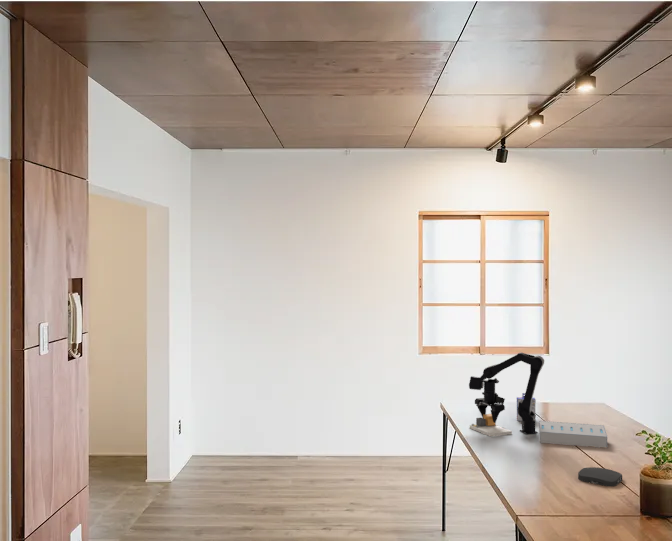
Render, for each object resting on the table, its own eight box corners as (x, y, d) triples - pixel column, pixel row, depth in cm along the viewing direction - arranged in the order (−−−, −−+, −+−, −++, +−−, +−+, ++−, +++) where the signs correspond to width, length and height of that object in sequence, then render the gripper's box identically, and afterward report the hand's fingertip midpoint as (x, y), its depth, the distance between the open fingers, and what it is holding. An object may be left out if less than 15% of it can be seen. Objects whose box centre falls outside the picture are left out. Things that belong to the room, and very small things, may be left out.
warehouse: (539, 443, 305) (539, 427, 305) (539, 435, 319) (539, 420, 319) (607, 448, 296) (607, 432, 296) (603, 440, 310) (603, 425, 310)
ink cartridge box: (534, 419, 352) (534, 393, 352) (536, 421, 347) (536, 395, 347) (516, 418, 354) (516, 392, 354) (517, 420, 348) (517, 394, 348)
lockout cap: (495, 425, 332) (495, 415, 332) (488, 426, 330) (488, 416, 330) (490, 423, 336) (490, 413, 336) (483, 424, 334) (483, 414, 334)
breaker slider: (485, 425, 330) (485, 419, 330) (480, 426, 328) (480, 419, 328) (481, 424, 333) (481, 417, 333) (476, 424, 332) (476, 418, 332)
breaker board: (512, 434, 320) (512, 429, 320) (490, 436, 315) (490, 432, 315) (490, 425, 337) (490, 421, 337) (469, 427, 332) (469, 423, 332)
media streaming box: (587, 471, 262) (587, 464, 262) (624, 479, 253) (624, 471, 253) (575, 480, 251) (575, 473, 251) (614, 488, 242) (614, 481, 242)
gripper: (513, 393, 327) (513, 423, 327) (491, 386, 344) (491, 415, 345) (495, 394, 323) (495, 425, 323) (474, 388, 340) (474, 417, 340)
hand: (489, 420), depth 333 cm, fingers open, 9 cm apart
